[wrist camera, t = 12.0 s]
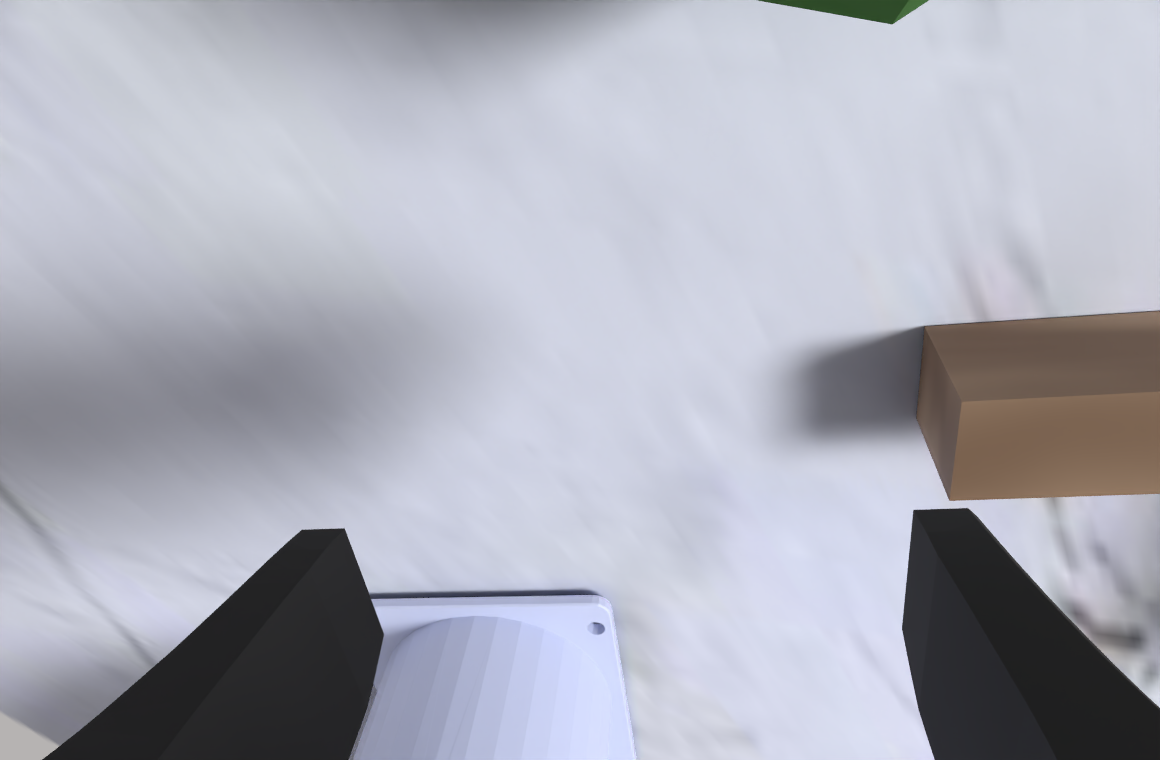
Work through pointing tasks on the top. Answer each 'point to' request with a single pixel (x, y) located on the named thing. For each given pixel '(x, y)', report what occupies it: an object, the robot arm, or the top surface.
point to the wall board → (1043, 406)
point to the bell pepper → (859, 8)
